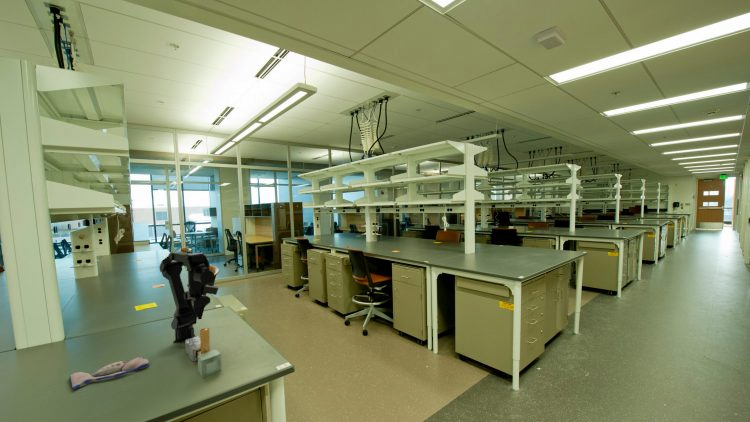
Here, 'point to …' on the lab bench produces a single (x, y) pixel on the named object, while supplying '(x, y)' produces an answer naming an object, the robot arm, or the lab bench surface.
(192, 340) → the aluminium sleeve
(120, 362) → the anatomical model
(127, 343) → the lab bench surface
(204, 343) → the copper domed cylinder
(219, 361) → the green socket
